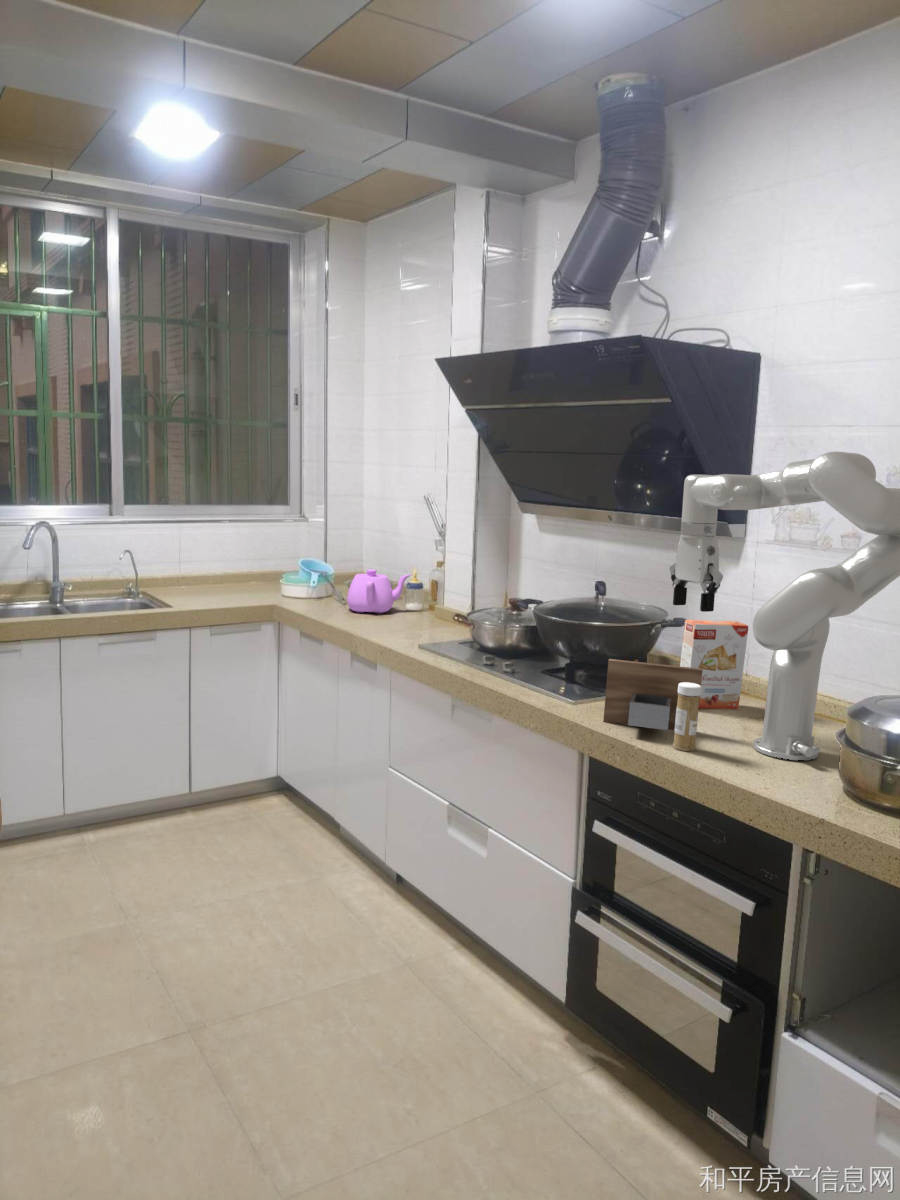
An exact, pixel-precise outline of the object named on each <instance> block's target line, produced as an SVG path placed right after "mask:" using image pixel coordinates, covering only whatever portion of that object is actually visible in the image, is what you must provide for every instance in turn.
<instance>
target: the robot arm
mask: <svg viewBox="0 0 900 1200" xmlns="http://www.w3.org/2000/svg"><path fill="white" fill-rule="evenodd" d="M876 479H877V470H876V466H875V465H874V463H873V462H872V460H870V458H868V456H866V455H864V454H863V455H862V454H860V453H857V452H856V453H855V452H845V451H828V452H825V453H823V454H820V455H819V456H817V457H816V458H813V459H805V460H800V461H799V460H798V461H791V462H789V463H787V464H786V465H785V467H784V468H783V469H782V470H779V471H773V472H768V473H760V474H758V473H757V474H731V473H730V474H729V473H722V474H715V475H713V474H689V475H687V476H686V477H685V478H684V481H683V483H684V484H683V496H682V508H681V509H682V510H681V522H680V523H681V524H680V536H679V541H678V544H677V551H676V558H675V562H674V564H672V565H671V566H669V572H670V579H671V581H672V587H673V599H672V605H673V606H684V605H685V606H686V604H687V595H688V593H687V592H688V587H686V586H687V584H688V583H691V584H692V583H694V584H700V587H701V588H702V589H701V590H702V591H703V592H701V595H700V604H699V605H700V607H699V611H700V612H703V613H704V612H706V613H707V612H714V610H715V596H716V594H717V593H718V589H719V588H720V587H721V583H722V581H723V578H724V574H722V572H721V571H720V551H719V550H720V549H719V541H718V539H717V538H716V537H717V536H716V535H717V527H718V526H717V525H718V524H717V523H718V514H719V513H718V510H723V511H753V510H755V511H756V510H761V509H770V508H776V507H777V508H778V507H779V508H780V507H784V506H795V505H804V504H812V503H818V502H825V503H827V504H828V506H830V507H832V509H834V510H835V511H836V512H837V513H839V514H841V516H842V517H844V518H845V519H847V520H848V521H849V522H851V524H853V525H854V526H855V527H856V528H858V529H860V530H862V531H863V532H865V533H868V534H870V535H875V536H876V537H874V538H873V539H871V540H870V541H869V542H867V543H865V544H863V545H862V546H861V547H859V548H858V549H857V550H855V552H854V553H853V554H851V555H850V556H849V557H847V558H846V559H845V560H843V561H841V562H840V563H839V564H837V565H835V566H831V567H821V568H815V569H812V570H811V569H810V570H809V571H808V570H807V572H805V573H804V572H803V573H802V574H800V575H798V576H797V578H795V579H793V580H792V581H791V582H790V583H789V584H788V585H786V586H785V587H784V588H783V589H781V590H780V591H778V592H777V593H776V594H775V595H774V596H773V597H771V598H770V599H769V600H768V601H767V602H765V603H764V604H763V605H762V606H761V607H760V608H759V609H758V611H756V613H755V615H754V617H753V619H752V621H753V622H752V633H753V636H754V638H755V640H756V642H757V643H758V644H759V645H760V646H762V647H763V648H766V649H767V650H771V651H773V652H772V655H771V656H772V657H771V660H770V666H769V671H768V678H767V679H768V681H767V690H766V699H765V708H764V719H763V725H762V735H761V737H757V738H756V739H754V740H753V744H752V747H753V748H754V749H755V750H756V751H757V752H759V753H761V754H763V755H766V756H769V757H772V758H776V757H777V758H778V759H781V758H783V759H782V760H787V759H789V761H798V760H804V761H812V760H814V759H816V758H818V757H819V753H820V750H821V749H820V747H819V746H817V745H815V744H814V743H815V736H813V729H814V724H815V723H814V721H815V715H816V706H817V705H816V704H817V698H818V688H819V681H820V674H821V667H822V661H823V657H824V656H823V655H824V651H825V650H826V649H825V648H826V645H827V641H828V637H829V634H830V624H831V623H830V619H831V618H837V617H845V616H848V615H850V614H852V613H854V612H855V611H856V610H858V609H859V608H860V607H862V606H863V605H864V604H866V602H868V601H869V600H870V599H872V598H873V597H874V596H876V595H878V593H880V592H882V591H883V590H884V589H885V588H886V587H888V586H889V585H890V584H891V583H892V582H894V581H895V580H896V579H897V578H900V488H899V487H898V488H896V487H895V488H894V487H886V486H884V485H883V484H881V483H880V482H879V481H877V480H876ZM777 758H776V759H777ZM811 759H812V760H811Z"/></svg>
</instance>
